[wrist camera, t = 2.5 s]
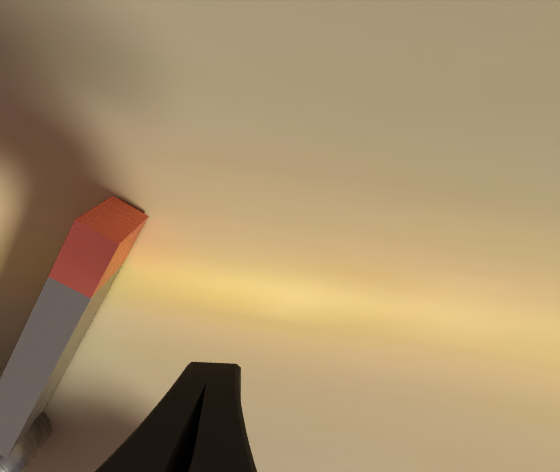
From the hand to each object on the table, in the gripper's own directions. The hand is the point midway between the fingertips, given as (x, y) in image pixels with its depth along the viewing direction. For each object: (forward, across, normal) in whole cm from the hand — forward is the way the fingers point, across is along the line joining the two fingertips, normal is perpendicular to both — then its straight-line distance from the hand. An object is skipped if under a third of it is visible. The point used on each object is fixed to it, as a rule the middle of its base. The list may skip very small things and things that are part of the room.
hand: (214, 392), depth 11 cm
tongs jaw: (+7, +7, +2) cm, 10 cm away
